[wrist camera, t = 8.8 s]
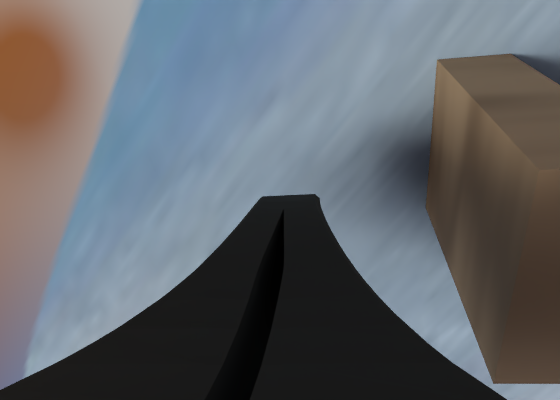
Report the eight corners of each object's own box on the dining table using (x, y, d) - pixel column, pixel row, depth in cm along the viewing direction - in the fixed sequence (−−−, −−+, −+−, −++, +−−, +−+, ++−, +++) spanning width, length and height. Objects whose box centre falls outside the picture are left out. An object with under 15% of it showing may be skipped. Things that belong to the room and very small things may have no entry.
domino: (486, 205, 15) (596, 383, 9) (425, 207, 15) (493, 383, 9) (510, 53, 13) (682, 162, 7) (437, 59, 13) (540, 169, 7)
